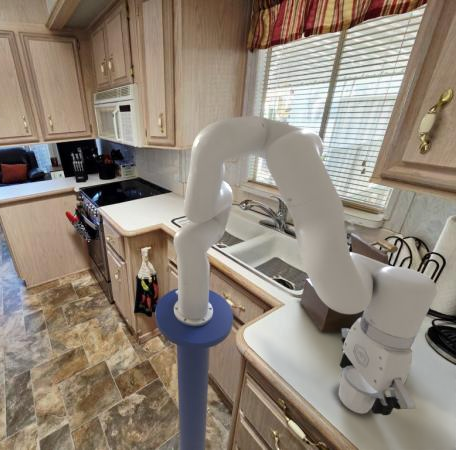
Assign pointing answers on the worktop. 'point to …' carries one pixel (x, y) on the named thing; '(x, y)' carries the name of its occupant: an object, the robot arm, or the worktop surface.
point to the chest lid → (372, 248)
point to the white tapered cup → (356, 391)
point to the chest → (325, 311)
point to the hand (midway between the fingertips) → (362, 387)
